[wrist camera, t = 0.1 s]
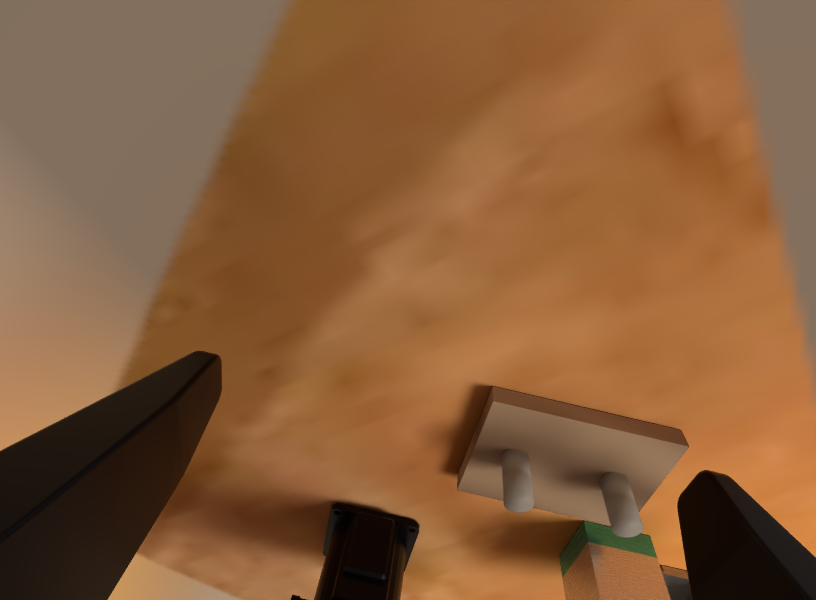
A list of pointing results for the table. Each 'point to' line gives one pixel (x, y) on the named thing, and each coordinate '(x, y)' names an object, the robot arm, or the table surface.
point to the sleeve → (611, 566)
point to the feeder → (676, 583)
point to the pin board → (568, 460)
